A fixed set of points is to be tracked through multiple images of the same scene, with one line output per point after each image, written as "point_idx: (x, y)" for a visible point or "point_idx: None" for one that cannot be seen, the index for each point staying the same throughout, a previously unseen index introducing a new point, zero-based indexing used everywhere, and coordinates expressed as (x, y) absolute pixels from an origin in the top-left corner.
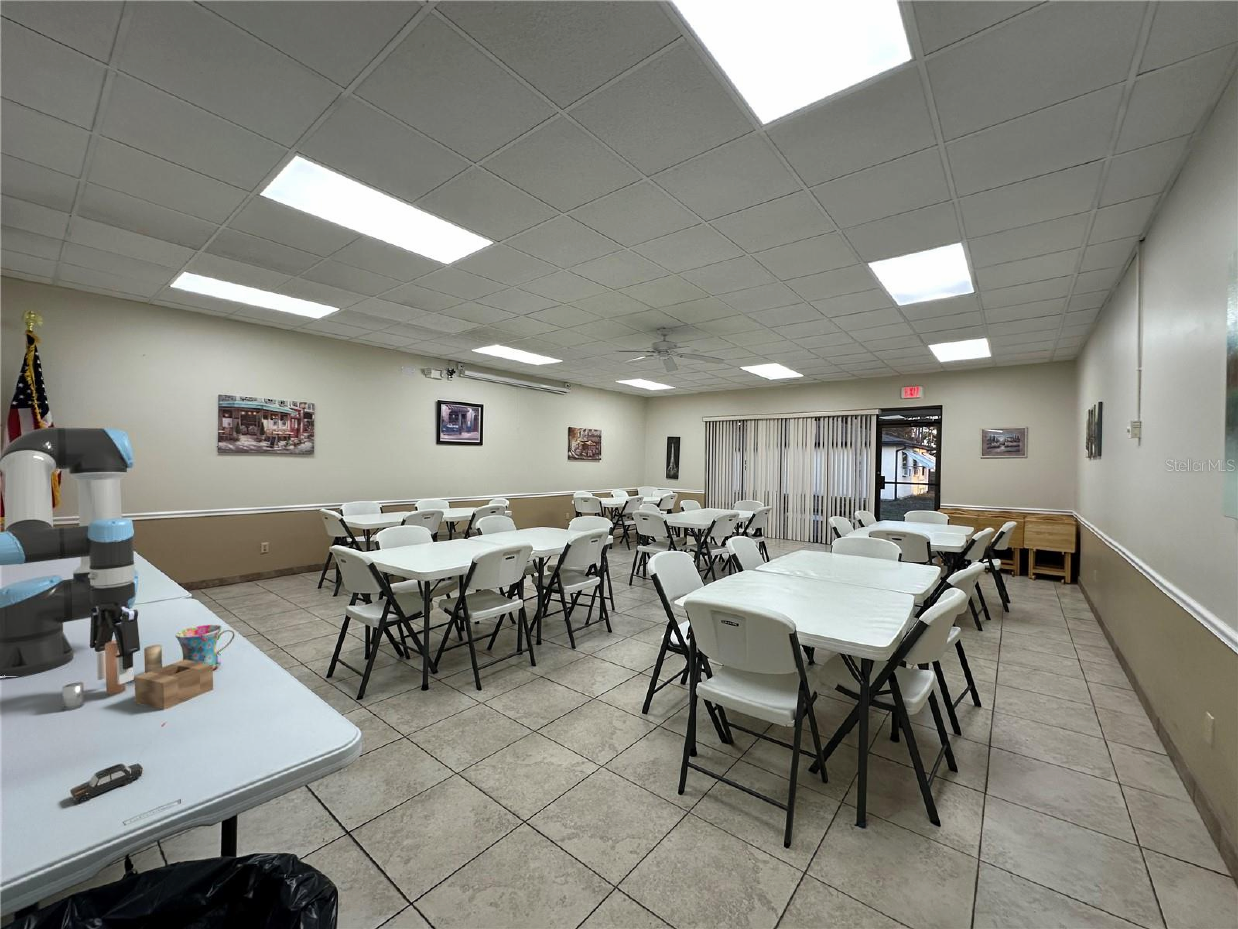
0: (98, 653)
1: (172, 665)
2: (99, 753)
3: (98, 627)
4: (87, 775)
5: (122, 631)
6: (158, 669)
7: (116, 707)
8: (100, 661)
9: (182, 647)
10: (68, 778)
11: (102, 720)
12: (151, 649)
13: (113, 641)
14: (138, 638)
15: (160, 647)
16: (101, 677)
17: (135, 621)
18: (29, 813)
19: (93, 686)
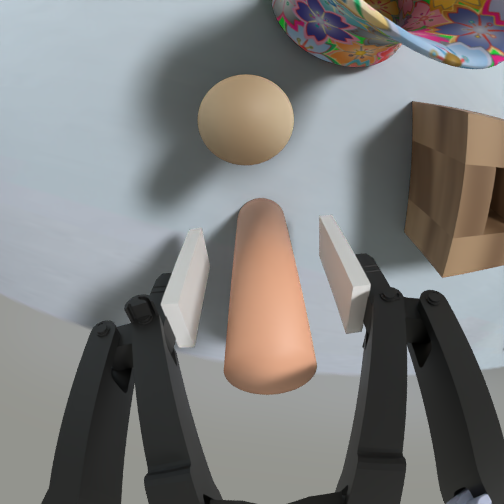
0: (192, 345)
1: (477, 172)
2: (486, 321)
3: (114, 447)
4: (500, 333)
5: (434, 441)
6: (464, 214)
7: (381, 261)
8: (198, 311)
9: (394, 41)
10: (488, 344)
11: (412, 295)
12: (285, 144)
13: (244, 371)
14: (467, 346)
15: (283, 92)
16: (208, 266)
17: (498, 451)
18: (492, 362)
19: (136, 232)
